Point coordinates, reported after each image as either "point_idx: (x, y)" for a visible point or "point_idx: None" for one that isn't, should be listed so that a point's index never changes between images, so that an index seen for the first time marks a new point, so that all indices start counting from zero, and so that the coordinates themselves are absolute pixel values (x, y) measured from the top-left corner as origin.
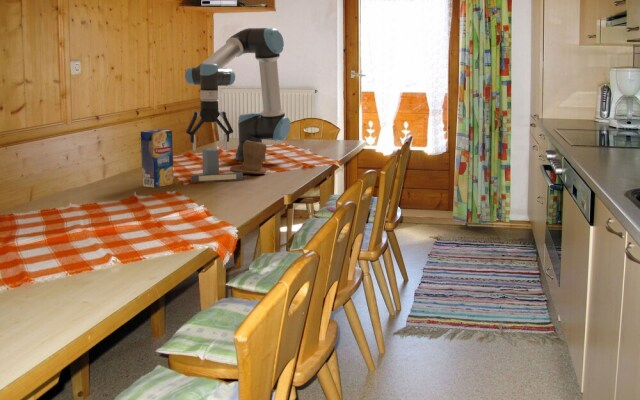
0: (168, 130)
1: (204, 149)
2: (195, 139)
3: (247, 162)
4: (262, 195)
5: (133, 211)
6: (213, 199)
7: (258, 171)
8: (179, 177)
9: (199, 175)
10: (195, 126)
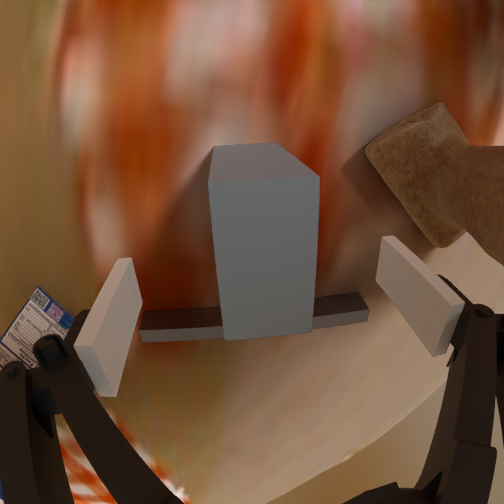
0: (3, 501)
1: (216, 266)
2: (121, 366)
3: (452, 210)
4: (308, 459)
5: (84, 482)
6: (203, 473)
7: (449, 243)
8: (92, 187)
9: (175, 339)
10: (83, 449)
